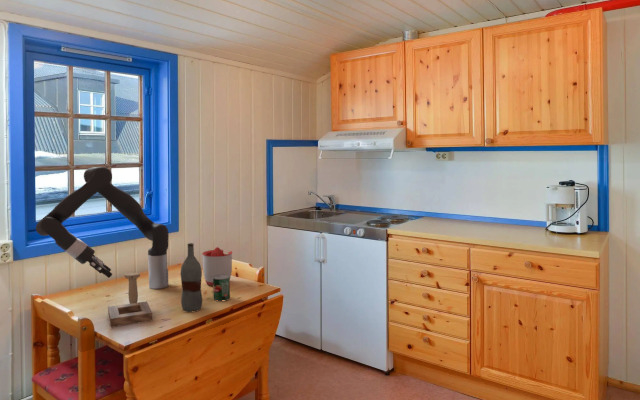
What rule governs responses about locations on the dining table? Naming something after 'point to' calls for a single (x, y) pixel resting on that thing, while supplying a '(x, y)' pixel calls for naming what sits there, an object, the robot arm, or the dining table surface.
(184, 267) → the bottle
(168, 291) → the dining table surface
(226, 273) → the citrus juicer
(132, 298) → the handle
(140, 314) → the holder
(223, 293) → the canned tomato
